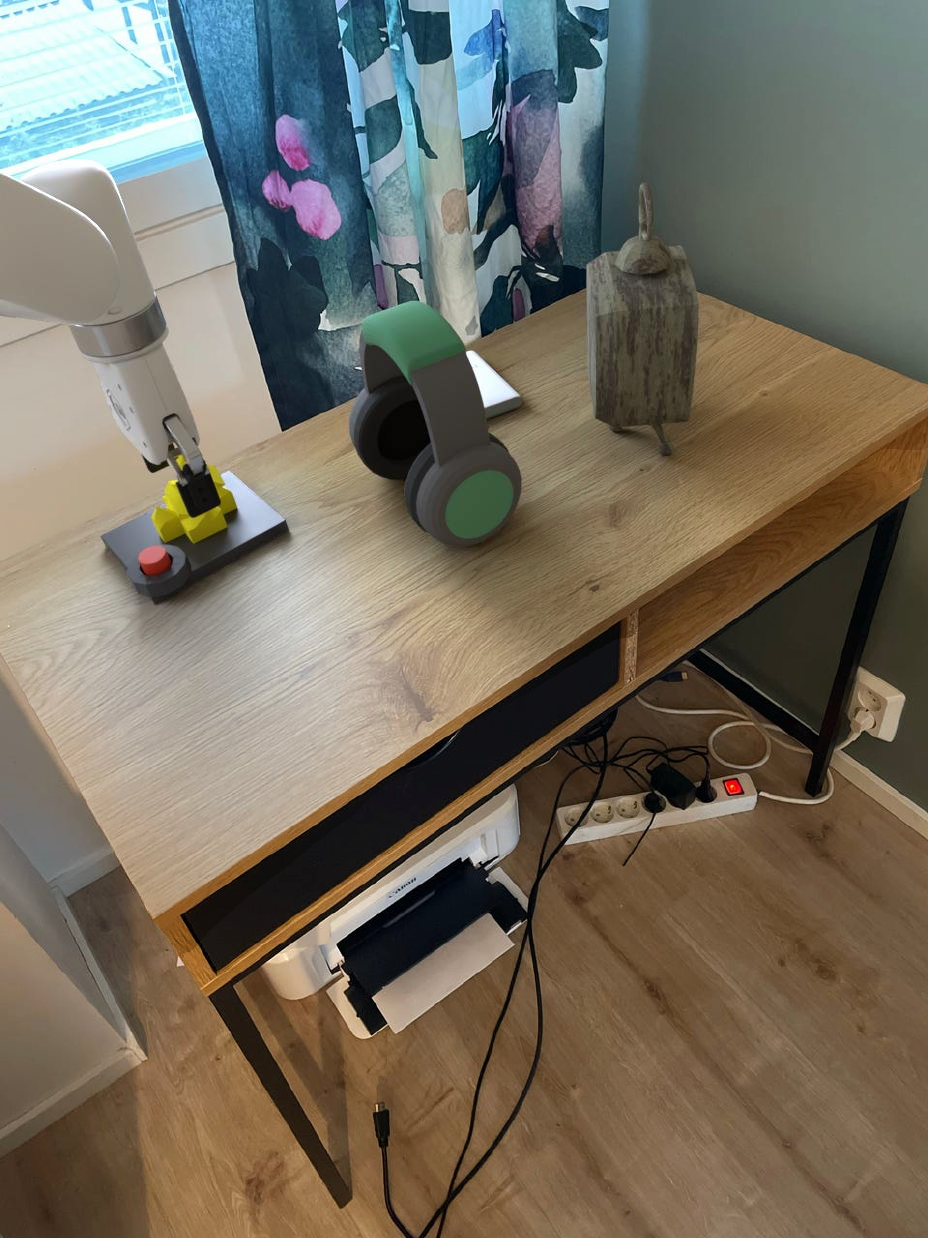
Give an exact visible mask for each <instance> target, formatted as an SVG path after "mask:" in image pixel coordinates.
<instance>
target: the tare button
mask: <svg viewBox="0 0 928 1238" xmlns="http://www.w3.org/2000/svg"><path fill="white" fill-rule="evenodd" d="M138 560H139V562H140V564H141V566H142V568H143V571H144V572H145V574H147V575H149V576H154V575H159V574H161V573H163V572H165V571H167V570H168V569H169V568H170V566H171V560H170V558H169V556H168V554H167V552H166V549H165V548H164V547H162V546H151V547H148V548H146V549H145V550H143V551H142V552H141V553H140V554H139V557H138Z"/></svg>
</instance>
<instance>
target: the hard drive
mask: <svg viewBox="0 0 928 1238" xmlns="http://www.w3.org/2000/svg"><path fill="white" fill-rule="evenodd" d="M466 355H467V357H468V359H469V361H470V363H471V366H472V368H473V371H474V373H475V376H476V379H477V382H478V385H479V388H480V392H481V395H482V399H483V403H484V408H485V413H486V418H487V420H489V419H491V418H494V417H497V416H500V415H502V414H505V413H507V412H510V411H514V410H516V409H519V408H520V407H522V405H523V403H522V396H521V394H519V393H518V391H516V390H515V389H514V388H513V387H512V386H511V385H510V384H509V383H508V382H507V381H506V380H505V379H503V378H502V376H500V375H499V373H497V372H496V371H495V369H494V368H492V367H491V366H490V365H489V364H488V363H487V362H486V361H485V360H484V359H483V358H482V357H481V356H480V355H479V354H478V353H477V352H476V351H475V350H468V351H467V350H466Z"/></svg>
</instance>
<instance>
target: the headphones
mask: <svg viewBox="0 0 928 1238" xmlns="http://www.w3.org/2000/svg"><path fill="white" fill-rule="evenodd" d="M358 342H359V343H358V346H359V348H358V349H359V362H360V369H361V375H362V380H363V385H364V388H362V390H361V391H360V392H359V394H358V395H357V397H356V398H355V400H354V402H353V405H352V407H351V409H350V413H349V417H348V434H349V437H350V440H351V443H352V445H353V447H354V449H355V451H356V455H357V456H358V457H359V459H360V460H361V462H362V463H363V464H364V465H365V467H367V469H369V470H370V472H372V473H373V474H374V475H377V476H378V477H379V478H384V479H387V480H390V481H391V480H395V481H401V480H402V481H403V480H405V483H404V489H403V494H404V495H403V496H404V504H405V507H406V511H407V513H408V515H409V516H410V518H411V520H412V521H413V522H414V523H415V525H416V526H417V527H419V529H421V530H422V532H424V533H426V534H427V535H429V536H430V537H432V538H433V539H434V540H436V541H437V542H439V543H441V544H443V545H446V546H450V547H468V546H474V545H477V544H479V543H482V542H485V541H486V540H488V539H490V538H491V537H492V536H495V534H497V533H498V532H500V530H502V528H503V527H505V526H506V524H507V523H508V522H509V520H510V519H511V518H512V516H513V514H514V513H515V511H516V510H517V507H518V504H519V502H520V499H521V494H522V485H523V484H522V479H523V478H522V473H521V469H520V467H519V465H518V463H517V461H516V459H515V458H514V457H513V456H512V454H511V453H510V451H509V449H508V448H507V446H506V445H505V444H504V443H503V442H502V441H501V440H500V439H499V437H497V436H495V435H494V434H492V433H491V432H490V431H489V424H488V419H487V418H486V413H485V408H484V403H483V399H482V395H481V392H480V388H479V385H478V382H477V379H476V376H475V373H474V371H473V368H472V366H471V363H470V361H469V359H468V357H467V355H466V352H467V349H466V346H465V342H464V341H463V340H462V339H461V336H460V335H459V334H458V332H457V331H456V330H455V329H454V328H453V326H452V325H451V323H450V322H449V321H447V319H446V318H445V317H444V316H443V315H441V314H440V312H439V311H437V310H436V309H435V308H434V307H432V306H430V304H428V303H426V302H423V301H419V300H411V301H406V302H403V303H400V304H398V305H395V306H391V307H389V308H385V309H383V310H380V311H378V312H375V313H372V314H370V315H368V316H366V317H364V318H363V319H362V322H361V331H360V333H359V341H358Z"/></svg>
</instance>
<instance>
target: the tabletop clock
mask: <svg viewBox="0 0 928 1238" xmlns="http://www.w3.org/2000/svg"><path fill="white" fill-rule="evenodd" d="M653 203H654V202H653V194H652V191H651V187H650V185H649V184H648V182H647V181H643V182H642V183H641V184H639V189H638V225H639V226H638V235H636V236H633V237H631V238H628V239H627V240H626V242H624V243H623V245H622V246H621V248H620V250H614V251H613V250H612V251H607V252H606V251H604V252H603V253H601V254H600V255H599V256H597V257H595V258H594V259H593V260H591V261H590V262H588V263H587V264H586V275H585V276H586V283H585V286H586V290H585V291H586V293H585V294H586V298H585V299H586V306H585V307H586V310H585V311H586V362H587V374H588V381H589V390H590V397H591V405H592V411H593V416H594V419H595V420H598V421H599V422H602V423H604V424H606V425H607V428H609V430H610V431H612V432H619V431H620V430H622V428H626V427H640V426H650V427H652V428H653V430H654V432H655V433H656V436H657V437H658V439H659V441H660V442H661V443H660V444H659V446H658V452H659V454H660V455H661V456H663V457H671V456H672V455H674V453H675V450H676V445H675V444H674V443H673V442H672V441H670V440H667V438H666V435H665V432H664V428H663V425H665V424H678V423H689V420H690V416H691V409H692V405H693V404H692V403H693V395H694V388H695V387H694V386H695V377H696V365H697V354H698V353H697V350H698V339H699V338H698V335H699V299H698V291H697V286H696V282H695V279H694V278H695V277H694V275H693V272H692V267H691V265H690V261H689V259H688V257H687V254H686V252H685V249H684V247H683V246H682V245H678V244H677V245H668V244H667V243H665V242H664V241H663V240H662V239H661V238H660V237H659V236H656V235H653V230H654V204H653ZM645 210H646V211H645Z"/></svg>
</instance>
